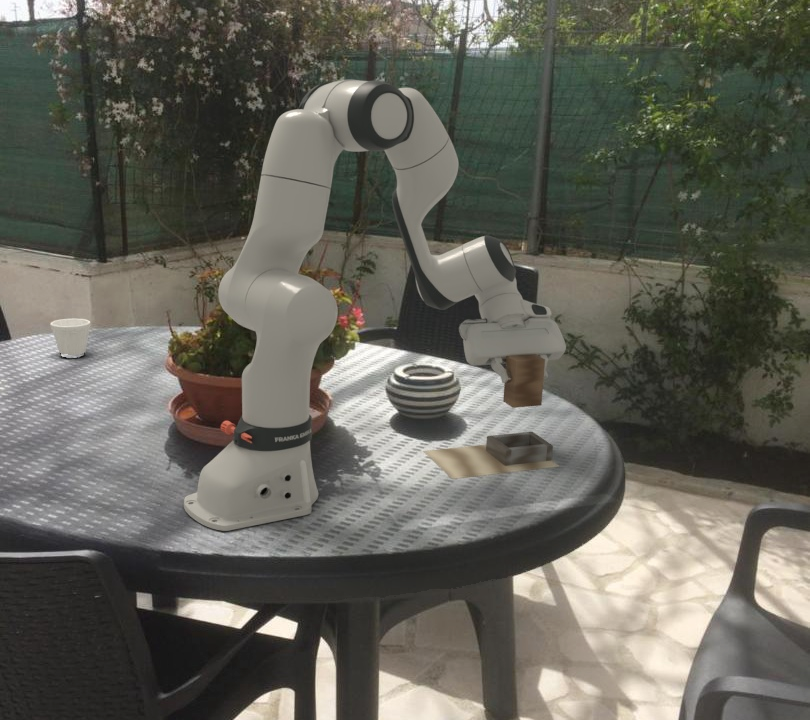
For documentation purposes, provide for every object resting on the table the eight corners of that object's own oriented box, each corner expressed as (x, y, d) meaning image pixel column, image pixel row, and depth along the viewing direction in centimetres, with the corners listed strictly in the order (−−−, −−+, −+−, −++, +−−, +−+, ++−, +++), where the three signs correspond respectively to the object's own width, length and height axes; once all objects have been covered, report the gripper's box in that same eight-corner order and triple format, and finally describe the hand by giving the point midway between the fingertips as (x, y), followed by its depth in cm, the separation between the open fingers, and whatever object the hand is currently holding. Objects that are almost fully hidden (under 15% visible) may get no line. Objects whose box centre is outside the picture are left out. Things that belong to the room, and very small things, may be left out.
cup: (78, 349, 230) (75, 316, 228) (100, 355, 225) (98, 322, 222) (44, 356, 222) (42, 322, 220) (67, 363, 217) (64, 328, 214)
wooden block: (513, 407, 155) (516, 361, 153) (503, 401, 159) (506, 355, 156) (541, 405, 157) (545, 359, 155) (531, 398, 161) (534, 353, 158)
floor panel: (451, 486, 149) (453, 463, 148) (422, 458, 161) (423, 436, 160) (559, 473, 156) (561, 451, 155) (523, 447, 169) (525, 426, 168)
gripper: (461, 311, 156) (481, 375, 150) (557, 307, 163) (579, 368, 157) (451, 329, 161) (469, 392, 155) (543, 324, 168) (565, 384, 162)
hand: (525, 380), depth 156 cm, fingers closed on wooden block, 6 cm apart
